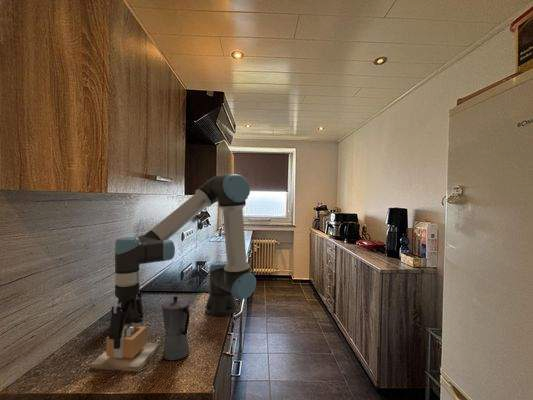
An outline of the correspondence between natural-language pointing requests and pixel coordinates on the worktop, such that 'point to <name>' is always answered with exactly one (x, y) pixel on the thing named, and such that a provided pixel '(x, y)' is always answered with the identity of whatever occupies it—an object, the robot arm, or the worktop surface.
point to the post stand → (125, 363)
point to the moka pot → (176, 329)
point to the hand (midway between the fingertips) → (127, 348)
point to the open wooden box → (129, 343)
